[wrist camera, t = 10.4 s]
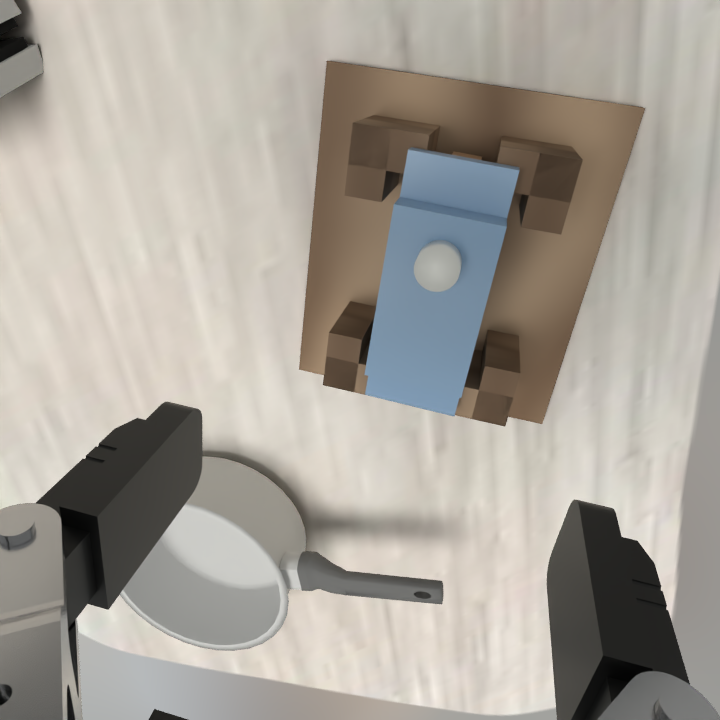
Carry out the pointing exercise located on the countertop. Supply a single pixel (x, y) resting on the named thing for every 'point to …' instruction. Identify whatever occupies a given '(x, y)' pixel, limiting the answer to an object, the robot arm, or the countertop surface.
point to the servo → (437, 277)
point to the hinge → (16, 53)
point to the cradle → (522, 237)
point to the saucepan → (243, 565)
